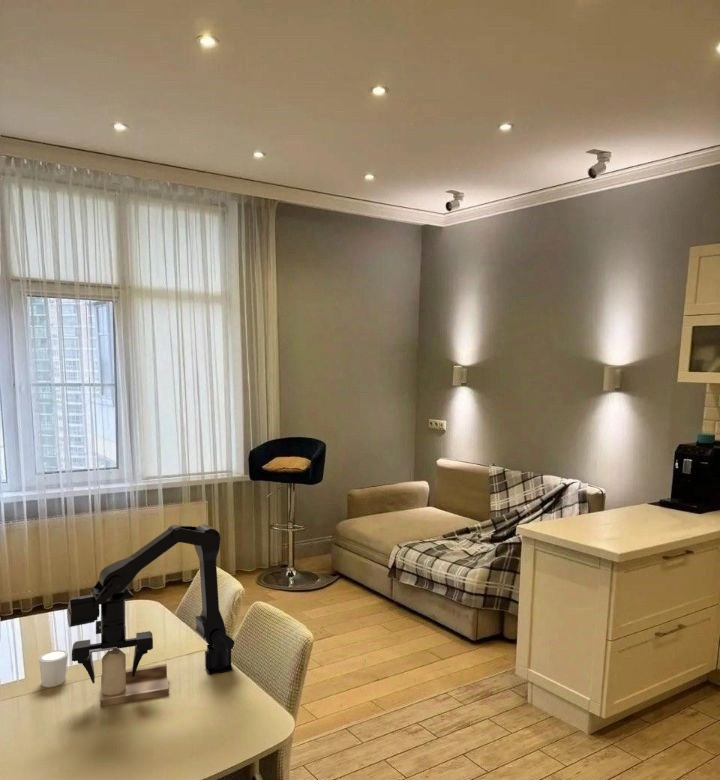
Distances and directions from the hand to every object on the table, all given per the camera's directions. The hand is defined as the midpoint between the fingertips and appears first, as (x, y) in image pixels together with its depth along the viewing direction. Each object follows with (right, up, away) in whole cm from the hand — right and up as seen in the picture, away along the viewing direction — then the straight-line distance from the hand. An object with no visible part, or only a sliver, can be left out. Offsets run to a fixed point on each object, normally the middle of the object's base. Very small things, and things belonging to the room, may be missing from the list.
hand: (113, 679), depth 153 cm
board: (+4, -4, +2) cm, 7 cm away
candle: (0, -3, 0) cm, 3 cm away
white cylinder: (-19, -5, +8) cm, 21 cm away
